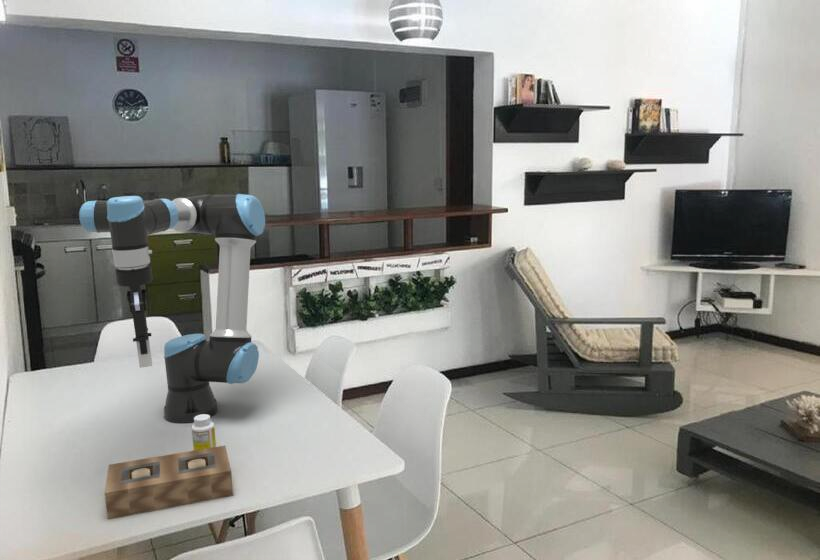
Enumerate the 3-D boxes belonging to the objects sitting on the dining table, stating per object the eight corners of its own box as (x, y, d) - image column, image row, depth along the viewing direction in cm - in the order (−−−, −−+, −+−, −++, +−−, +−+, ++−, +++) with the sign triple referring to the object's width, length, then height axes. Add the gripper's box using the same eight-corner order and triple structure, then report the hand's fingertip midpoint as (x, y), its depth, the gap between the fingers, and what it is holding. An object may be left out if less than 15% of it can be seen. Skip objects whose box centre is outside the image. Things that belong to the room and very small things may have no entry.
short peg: (190, 492, 156) (188, 467, 155) (190, 484, 159) (187, 460, 158) (208, 488, 157) (205, 464, 156) (206, 481, 160) (204, 457, 159)
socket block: (107, 519, 145) (104, 493, 144) (111, 488, 158) (108, 464, 157) (233, 495, 154) (231, 470, 153) (227, 468, 167) (225, 445, 166)
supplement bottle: (208, 447, 178) (205, 411, 176) (221, 453, 175) (217, 416, 173) (189, 455, 174) (186, 417, 172) (202, 461, 171) (198, 423, 169)
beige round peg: (134, 502, 152) (131, 477, 151) (134, 494, 155) (132, 469, 154) (152, 499, 153) (149, 474, 152) (152, 491, 157) (149, 466, 155)
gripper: (151, 270, 148) (163, 372, 154) (150, 259, 160) (162, 354, 165) (113, 273, 146) (127, 377, 151) (116, 262, 157) (129, 359, 163)
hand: (146, 365), depth 158 cm, fingers closed
